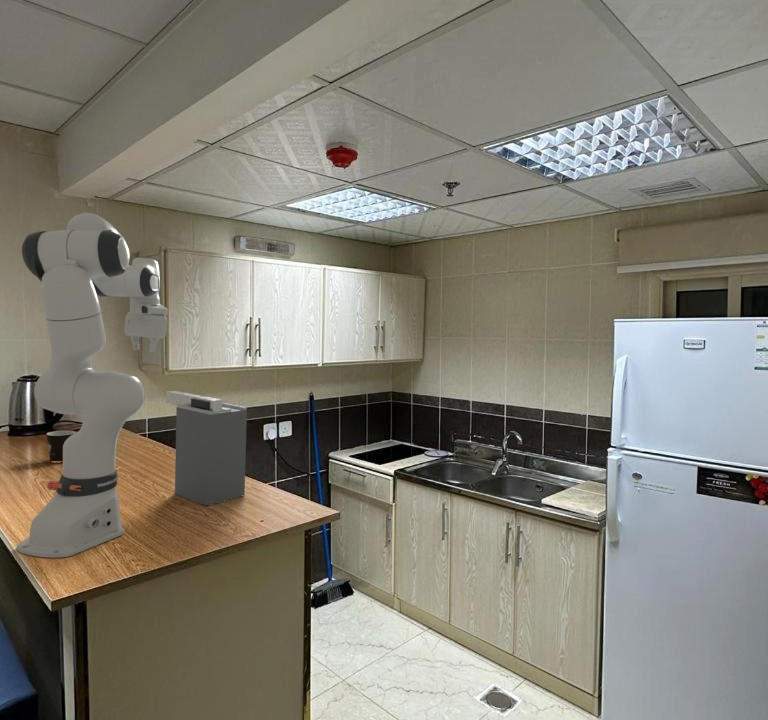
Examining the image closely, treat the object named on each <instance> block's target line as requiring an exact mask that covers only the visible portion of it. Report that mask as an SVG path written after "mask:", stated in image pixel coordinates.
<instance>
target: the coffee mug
mask: <svg viewBox="0 0 768 720" xmlns="http://www.w3.org/2000/svg"><path fill="white" fill-rule="evenodd" d="M75 433H76V431H73V430H56V431H49V432H47V433H46V440H47V446H48V447H47V448H48V455H49V461H50V460H51V461H63V445H64V443H65V441H66V440H67V439H68V438H69V437H70V436H71V435H73V434H75Z"/></svg>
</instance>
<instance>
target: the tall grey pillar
mask: <svg viewBox="0 0 768 720" xmlns="http://www.w3.org/2000/svg"><path fill="white" fill-rule="evenodd" d="M247 414H248V411H247V406H241V405H236V404H233V403H226V402H222V412H217V413H212V411H208V410H203V409H199V408H194V407H190V406H185V405H180V404H178V405H176V417H175V418H176V420H175V421H176V424H175V460H174V461H175V462H174V463H175V468H174V469H175V470H174V471H175V474H174V494H175V495H178V496H180V497H183V498H184V499H187V498H188V499H187V500H190V499H191V500H190V501H192V500H194V501H193V502H195V501H197V502H199V503H198V504H200V503H202V504H204V505H203V506H205V505H210V506H212V505H211V504H213V505H215V504H214V503H217V504H219V503H218V502H220V503H222V502H221V501H224V500H227V499H231V498H234V499H236V498H235V497H238V498H240V497H239V496H241V497H243V496H242V495H245V487H246V457H247V455H246V454H247V452H246V451H247V450H246V449H247V422H248V421H247V418H248V415H247ZM231 500H232V499H231ZM227 501H228V500H227ZM197 502H196V503H197ZM224 502H225V501H224ZM202 504H201V505H202Z"/></svg>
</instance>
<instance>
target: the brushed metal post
mask: <svg viewBox="0 0 768 720" xmlns="http://www.w3.org/2000/svg"><path fill="white" fill-rule="evenodd" d="M222 403H223V399H220V398H215V397H211V396H210V397H209V396H204V395H201V394H200V395H199V394H193V393H188V392H185V391H184V392H183V391H178V390H169V391H166V392H165V404H171V405H175V406H177V405H178V404H180V405H185V406H190V407H194V408H199V409H203V410H208V411H212V413H217V412H222Z"/></svg>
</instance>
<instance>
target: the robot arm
mask: <svg viewBox="0 0 768 720" xmlns="http://www.w3.org/2000/svg"><path fill="white" fill-rule="evenodd" d="M21 255H22V259H23V262H24V265H25V266H26V268H27V269H28V271H30V273H31V274H33V276H35V277H36V278H38V280H39V281H40V282H41V297H42V298H41V299H42V307H43V313H44V318H45V323H46V326H47V330H48V336H49V343H50V349H51V350H50V352H51V353H50V361H49V364H48V367H47V369H46V370H45V371H44V373H42V374H41V375H40V376H39V378H38V379H37V381H36V383H35V385H34V393H33V394H34V400H35V401H36V403H37V405H38V406H39V407H40V408H42V409H43V410H48V411H50V412H53V413H57V414H61V415H70V416H80V417H81V416H82V418H83V420H82V424H81V426H80V429H79V431H77V432H75V434H73V435H71V436H70V437H69V438H68V439H67V440H66V441H65V443H64V445H63V463H62V474H61V475H60V478H59V481H54V480H49V481H48V482H47V484H46V488H47V489H48V490H49V491H52V490H53V491H55V492H56V493H55V495H54V496H53V497H51V499H50V500H49V501H48V502H47V504H45V506H44V507H43V508H42V509H41V510H40V511H39V512H38V514H36V516H34V517H33V519H32V521H31V523H30V528H29V535H28V536H29V537H26V539H24V540H22V541H21V542H19V543H17V544H16V551H17V552H19V553H20V554H24V555H26V556H27V555H28V556H32V557H37V558H38V557H39V558H53V559H55V558H67V557H72V556H74V555H76V554H78V553H81V552H84V551H86V550H88V549H91V548H94V547H96V546H98V545H100V544H102V543H105V542H108V541H110V540H113V539H115V538H118V537H120V536H122V535H124V534H125V532H126V531H125V528H124V527H123V524H122V518H121V517H122V516H121V509H120V508H121V507H120V500H119V496H118V493H117V489H116V487H117V485H118V477H119V476H118V470H117V469H116V455H117V454H116V453H117V442H118V438H119V434H120V432H121V430H122V428H123V426H124V425H125V423H126V422H127V420H129V419H130V418H131V417H132V416H133V415H136V413H138V412H139V410H140V409H141V407H142V405H143V404H144V400H145V389H144V386H143V383H142V381H140V379H139V378H137V377H136V376H133V375H130V374H127V373H122V372H119V371H107V370H95V369H94V368H93V365H92V364H93V361H92V360H93V357H94V356H96V355H97V354H98V353H100V352H102V351H103V349H104V348H105V346H106V344H107V337H106V330H105V324H104V319H103V314H102V310H101V305H100V301H99V298H98V297H100V298H101V297H122V298H123V297H124V298H125V297H127V298H129V311H128V312H127V314H126V315H125V317H124V318H125V319H124V325H123V326H124V327H123V328H124V329H123V331H124V335H125V336H128V337H130V340H131V343H132V349H133V351H141V344H140V341H139V340H140V338H147V339H148V338H149V341H150V343H149V346H147V348H148V349H147V350H148V352H149V353H155V352H157V345H158V343H159V339H165V338H166V336H167V333H168V332H167V330H168V319H167V315H168V314H169V310H168V308H167V307H166V306H163V305H162V304H161V303H160V302H161V299H160V296H159V295H160V293H159V292H160V288H161V279H160V278H161V277H160V276H161V275H160V267H159V262H158V261H156V260H155V259H153V258H149V257H144V256H138V257H135V258H133V259H132V261H131V262H132V263H131V265H130V250H129V247H128V244H127V241H126V240H125V238H124V236H122V235H121V233H120V231H118V230H117V229H116V228H115V227H114V225H112V224H111V223H110V222H109V221H107V220H106V219H105V218H103V217H102V216H100V215H98V214H96V213H92V212H80V213H78V214H76V215H74V216H73V217H72V218H71V219H70V220H69V221H68V224H67V226H66V229H61V230H60V229H59V230H52V231H46V230H42V231H36V232H32V233H30V234H28V235H27V236H26V237H25V239H24V240H23V242H22V246H21Z"/></svg>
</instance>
